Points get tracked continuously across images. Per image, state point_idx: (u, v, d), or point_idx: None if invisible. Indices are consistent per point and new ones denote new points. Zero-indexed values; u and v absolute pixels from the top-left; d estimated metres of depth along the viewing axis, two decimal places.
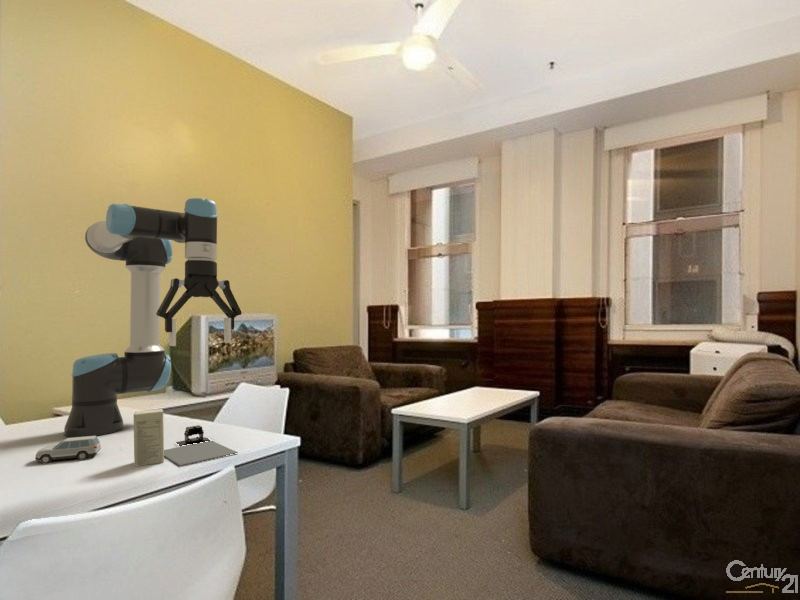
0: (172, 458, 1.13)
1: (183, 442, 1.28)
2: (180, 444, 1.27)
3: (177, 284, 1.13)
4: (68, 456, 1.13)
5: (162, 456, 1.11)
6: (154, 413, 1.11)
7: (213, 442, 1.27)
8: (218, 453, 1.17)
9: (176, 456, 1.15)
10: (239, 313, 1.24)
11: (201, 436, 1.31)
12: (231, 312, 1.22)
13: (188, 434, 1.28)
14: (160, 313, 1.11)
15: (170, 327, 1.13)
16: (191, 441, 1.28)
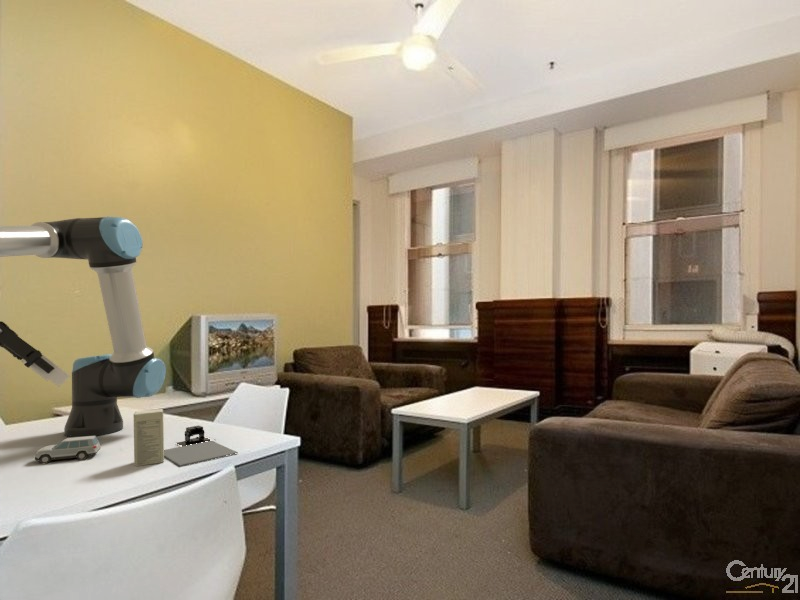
0: (172, 458, 1.13)
1: (184, 442, 1.28)
2: (182, 444, 1.26)
3: None
4: (67, 456, 1.13)
5: (162, 456, 1.11)
6: (154, 413, 1.11)
7: (213, 442, 1.27)
8: (218, 453, 1.17)
9: (176, 456, 1.15)
10: (27, 362, 0.89)
11: (202, 436, 1.31)
12: (25, 360, 0.90)
13: (190, 434, 1.28)
14: None
15: None
16: (192, 441, 1.28)
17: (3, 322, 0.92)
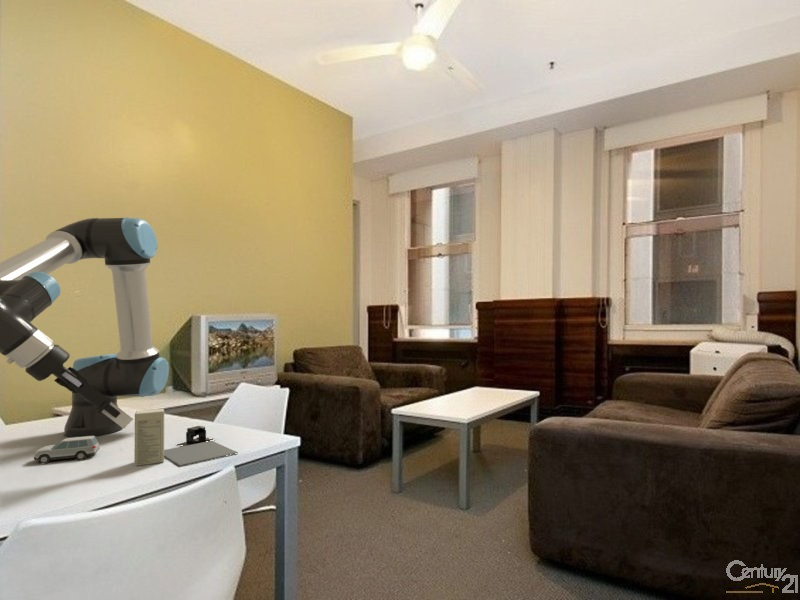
0: (172, 458, 1.13)
1: (187, 443, 1.27)
2: (186, 445, 1.26)
3: None
4: (67, 456, 1.13)
5: (162, 456, 1.11)
6: (155, 413, 1.11)
7: (213, 442, 1.27)
8: (218, 453, 1.17)
9: (176, 456, 1.15)
10: (99, 409, 1.02)
11: (203, 436, 1.31)
12: (97, 407, 1.03)
13: (193, 435, 1.27)
14: None
15: None
16: (196, 441, 1.28)
17: (75, 369, 1.00)
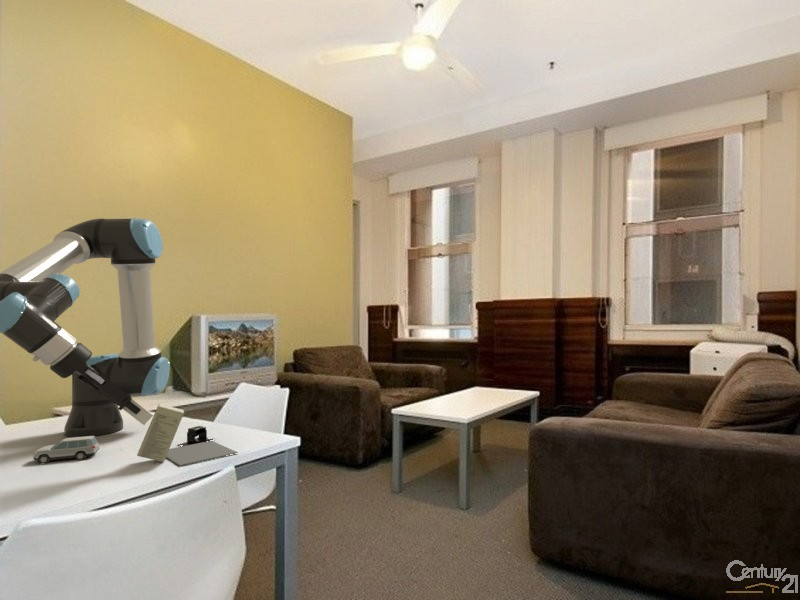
0: (172, 458, 1.13)
1: (189, 443, 1.27)
2: None
3: None
4: (66, 456, 1.13)
5: (165, 456, 1.11)
6: (176, 412, 1.13)
7: (213, 442, 1.27)
8: (218, 453, 1.17)
9: (176, 456, 1.15)
10: (121, 405, 1.05)
11: (203, 436, 1.31)
12: (118, 404, 1.06)
13: (195, 435, 1.27)
14: None
15: None
16: (197, 441, 1.28)
17: (97, 367, 1.03)
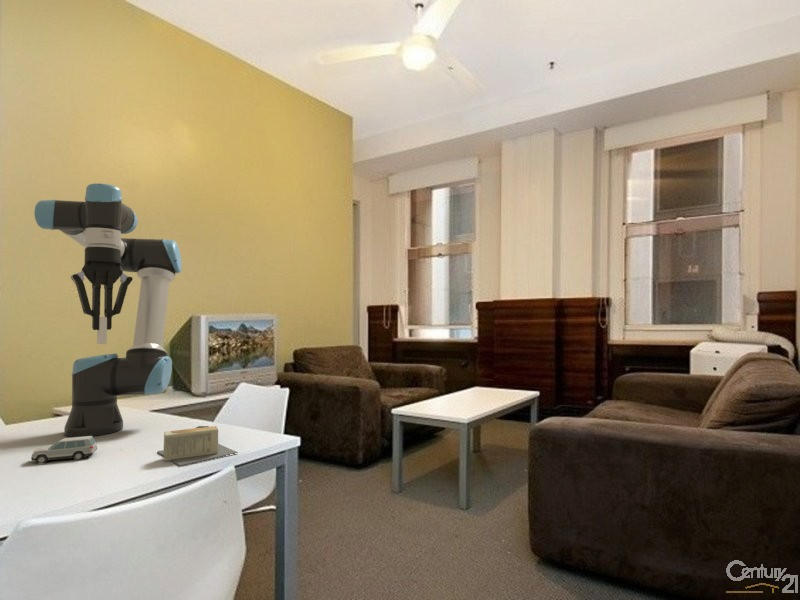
0: None
1: None
2: None
3: (79, 279, 1.10)
4: (64, 456, 1.13)
5: (170, 459, 1.12)
6: (216, 446, 1.17)
7: None
8: (218, 453, 1.17)
9: None
10: (117, 312, 1.16)
11: None
12: (110, 310, 1.15)
13: None
14: (86, 312, 1.11)
15: (98, 325, 1.13)
16: None
17: None
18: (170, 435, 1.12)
